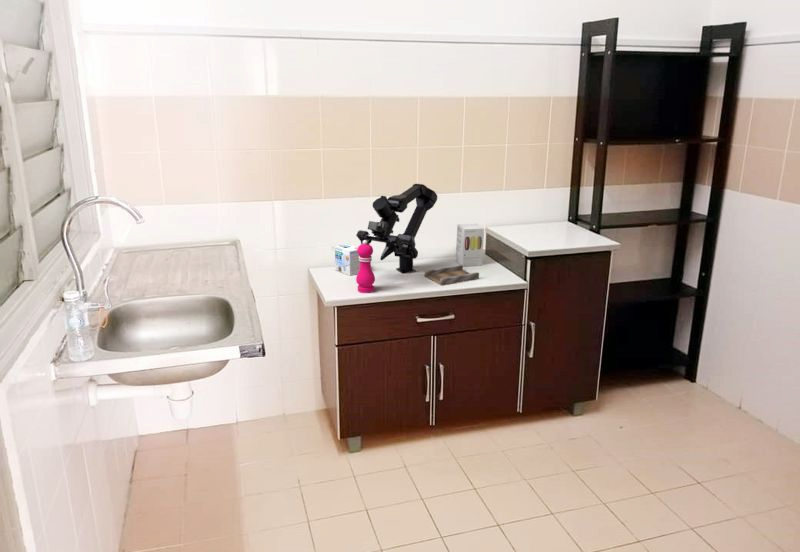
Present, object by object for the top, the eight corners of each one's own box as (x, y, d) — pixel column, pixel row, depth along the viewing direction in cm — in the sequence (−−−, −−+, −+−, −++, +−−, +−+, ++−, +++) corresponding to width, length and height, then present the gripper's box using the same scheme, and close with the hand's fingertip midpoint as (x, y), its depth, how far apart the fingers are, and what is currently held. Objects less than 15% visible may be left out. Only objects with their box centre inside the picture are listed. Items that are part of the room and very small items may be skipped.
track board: (441, 285, 246) (441, 279, 245) (424, 276, 257) (424, 270, 256) (478, 278, 254) (479, 273, 253) (461, 270, 265) (461, 265, 264)
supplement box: (462, 266, 270) (463, 229, 265) (455, 261, 278) (456, 224, 273) (482, 265, 272) (484, 227, 267) (475, 259, 280) (476, 223, 275)
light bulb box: (334, 270, 264) (334, 245, 261) (347, 267, 268) (347, 243, 265) (350, 276, 257) (349, 251, 253) (363, 273, 261) (362, 248, 257)
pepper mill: (372, 294, 236) (372, 243, 230) (354, 292, 237) (353, 241, 231) (377, 288, 242) (376, 238, 236) (359, 286, 244) (358, 237, 238)
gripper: (358, 210, 243) (342, 243, 237) (399, 215, 234) (383, 250, 228) (370, 226, 252) (354, 258, 246) (409, 232, 243) (394, 265, 237)
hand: (371, 258), depth 239 cm, fingers open, 9 cm apart
